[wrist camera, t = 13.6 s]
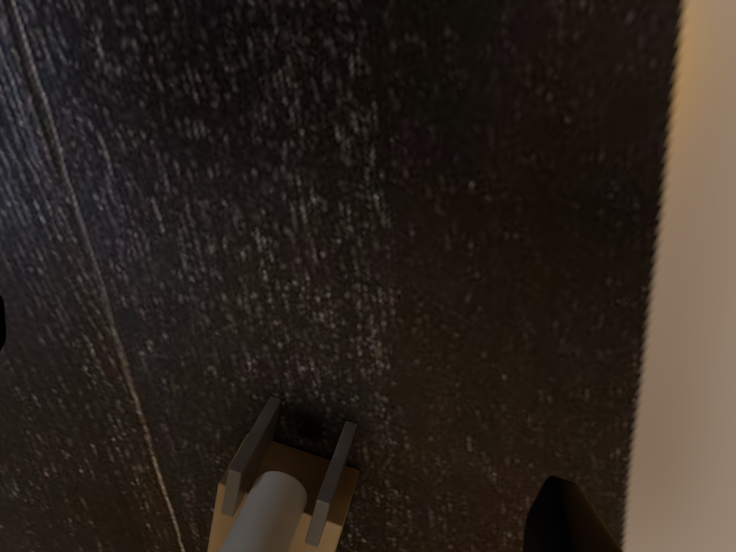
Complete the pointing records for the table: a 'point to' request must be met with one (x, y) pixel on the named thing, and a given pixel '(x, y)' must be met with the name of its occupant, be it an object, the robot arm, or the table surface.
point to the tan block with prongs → (317, 475)
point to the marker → (268, 515)
